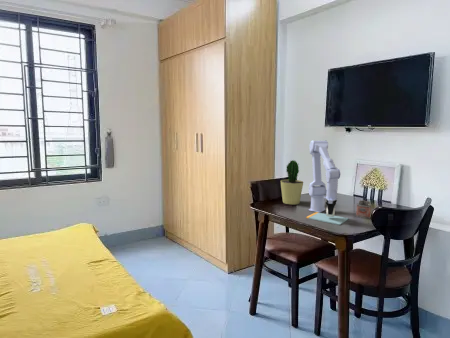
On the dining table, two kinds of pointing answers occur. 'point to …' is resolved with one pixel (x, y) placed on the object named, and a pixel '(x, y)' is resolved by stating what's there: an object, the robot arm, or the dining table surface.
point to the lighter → (363, 209)
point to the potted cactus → (291, 185)
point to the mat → (327, 218)
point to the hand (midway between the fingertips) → (330, 213)
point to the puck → (329, 214)
